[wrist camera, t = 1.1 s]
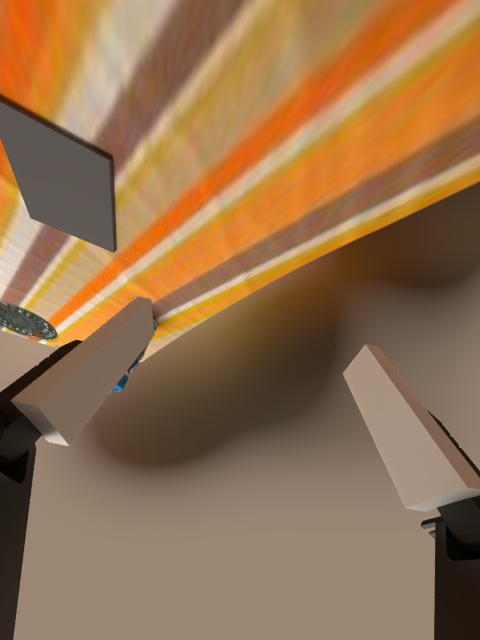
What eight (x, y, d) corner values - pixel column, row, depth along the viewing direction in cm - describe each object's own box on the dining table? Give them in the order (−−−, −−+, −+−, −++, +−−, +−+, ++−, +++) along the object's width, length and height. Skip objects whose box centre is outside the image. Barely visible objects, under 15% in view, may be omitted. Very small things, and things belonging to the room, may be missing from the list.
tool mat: (-9, 93, 23) (-17, 92, 22) (112, 159, 27) (109, 160, 26) (35, 215, 34) (30, 218, 34) (116, 250, 38) (113, 252, 37)
